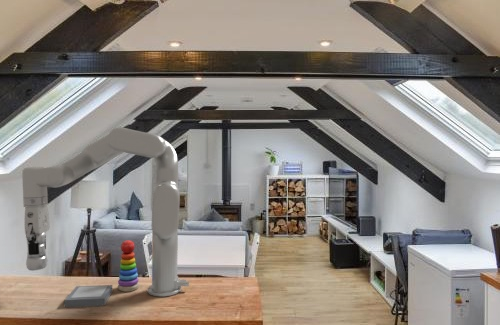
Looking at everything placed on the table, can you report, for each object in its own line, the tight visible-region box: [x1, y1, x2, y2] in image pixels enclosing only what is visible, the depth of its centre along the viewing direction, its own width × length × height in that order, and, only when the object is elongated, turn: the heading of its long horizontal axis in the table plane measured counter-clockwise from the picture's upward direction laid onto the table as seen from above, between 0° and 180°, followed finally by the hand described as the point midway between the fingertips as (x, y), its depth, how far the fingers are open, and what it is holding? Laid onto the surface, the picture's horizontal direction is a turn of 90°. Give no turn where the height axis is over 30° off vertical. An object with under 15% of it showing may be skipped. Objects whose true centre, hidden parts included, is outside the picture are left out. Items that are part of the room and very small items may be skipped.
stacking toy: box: [117, 239, 140, 292], centre depth 145 cm, size 8×8×19 cm
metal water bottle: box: [25, 228, 49, 272], centre depth 133 cm, size 6×7×20 cm
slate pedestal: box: [64, 284, 113, 308], centre depth 134 cm, size 13×13×3 cm
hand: (37, 251), depth 133 cm, fingers closed on metal water bottle, 5 cm apart
